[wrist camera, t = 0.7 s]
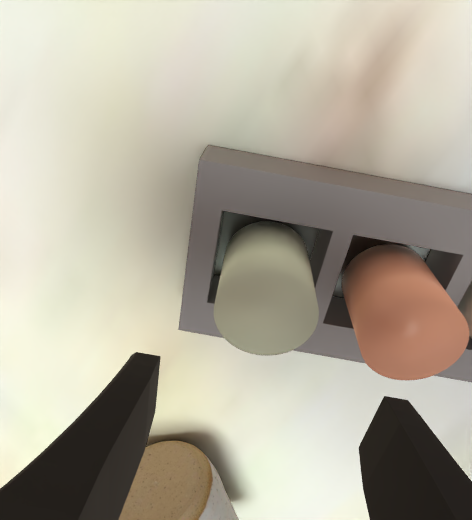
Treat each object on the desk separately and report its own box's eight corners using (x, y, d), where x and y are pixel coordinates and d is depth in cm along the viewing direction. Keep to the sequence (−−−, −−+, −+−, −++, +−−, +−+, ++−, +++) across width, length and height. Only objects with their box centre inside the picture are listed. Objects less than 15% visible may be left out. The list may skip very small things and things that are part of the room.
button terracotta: (441, 252, 16) (489, 309, 13) (408, 321, 18) (442, 387, 15) (356, 236, 16) (380, 289, 13) (331, 306, 18) (346, 370, 14)
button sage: (318, 229, 16) (331, 280, 13) (297, 300, 18) (304, 363, 14) (231, 214, 16) (221, 260, 13) (219, 286, 18) (207, 345, 14)
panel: (602, 218, 17) (650, 243, 15) (508, 358, 21) (535, 393, 18) (207, 145, 16) (199, 159, 14) (187, 300, 20) (178, 329, 18)
